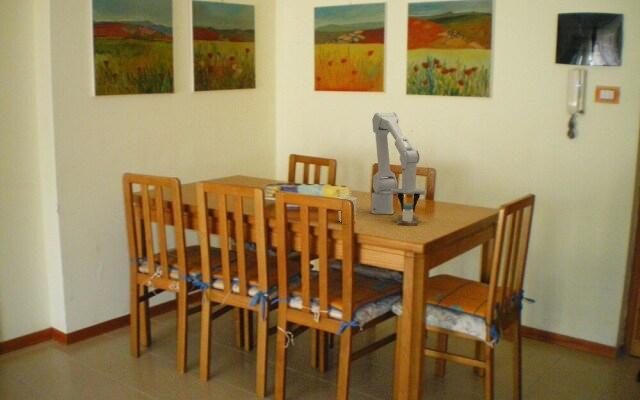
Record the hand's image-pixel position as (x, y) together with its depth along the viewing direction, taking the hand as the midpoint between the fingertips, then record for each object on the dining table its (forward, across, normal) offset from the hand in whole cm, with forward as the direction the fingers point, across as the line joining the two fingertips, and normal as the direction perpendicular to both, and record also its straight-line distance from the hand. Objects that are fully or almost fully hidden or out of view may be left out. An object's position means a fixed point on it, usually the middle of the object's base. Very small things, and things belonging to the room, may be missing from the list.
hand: (408, 211), depth 287 cm
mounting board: (+4, 0, 0) cm, 4 cm away
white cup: (+4, -25, -5) cm, 26 cm away
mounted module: (+2, 0, -6) cm, 6 cm away
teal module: (+2, 0, 0) cm, 2 cm away
